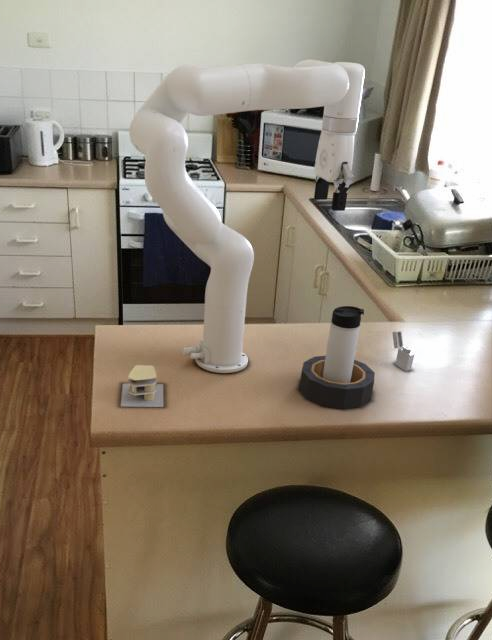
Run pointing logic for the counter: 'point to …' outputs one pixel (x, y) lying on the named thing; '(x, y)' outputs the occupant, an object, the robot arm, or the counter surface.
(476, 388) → the counter surface
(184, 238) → the robot arm
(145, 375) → the stacked layers on plate
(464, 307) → the counter surface
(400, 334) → the lighter
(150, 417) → the counter surface
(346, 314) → the travel mug
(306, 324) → the counter surface
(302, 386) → the tape roll
